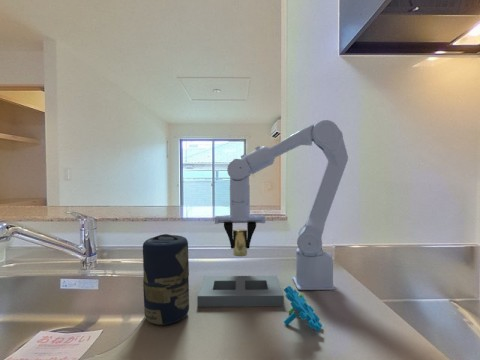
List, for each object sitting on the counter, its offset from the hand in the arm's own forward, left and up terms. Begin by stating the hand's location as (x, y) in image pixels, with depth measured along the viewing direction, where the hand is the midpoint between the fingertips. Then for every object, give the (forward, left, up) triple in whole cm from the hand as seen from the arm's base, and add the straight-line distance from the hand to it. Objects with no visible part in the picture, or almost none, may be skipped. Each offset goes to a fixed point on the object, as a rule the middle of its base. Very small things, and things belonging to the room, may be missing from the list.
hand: (240, 247), depth 81 cm
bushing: (0, 0, -2) cm, 2 cm away
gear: (-13, +24, -9) cm, 29 cm away
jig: (0, +11, -9) cm, 14 cm away
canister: (+16, +21, -9) cm, 28 cm away
